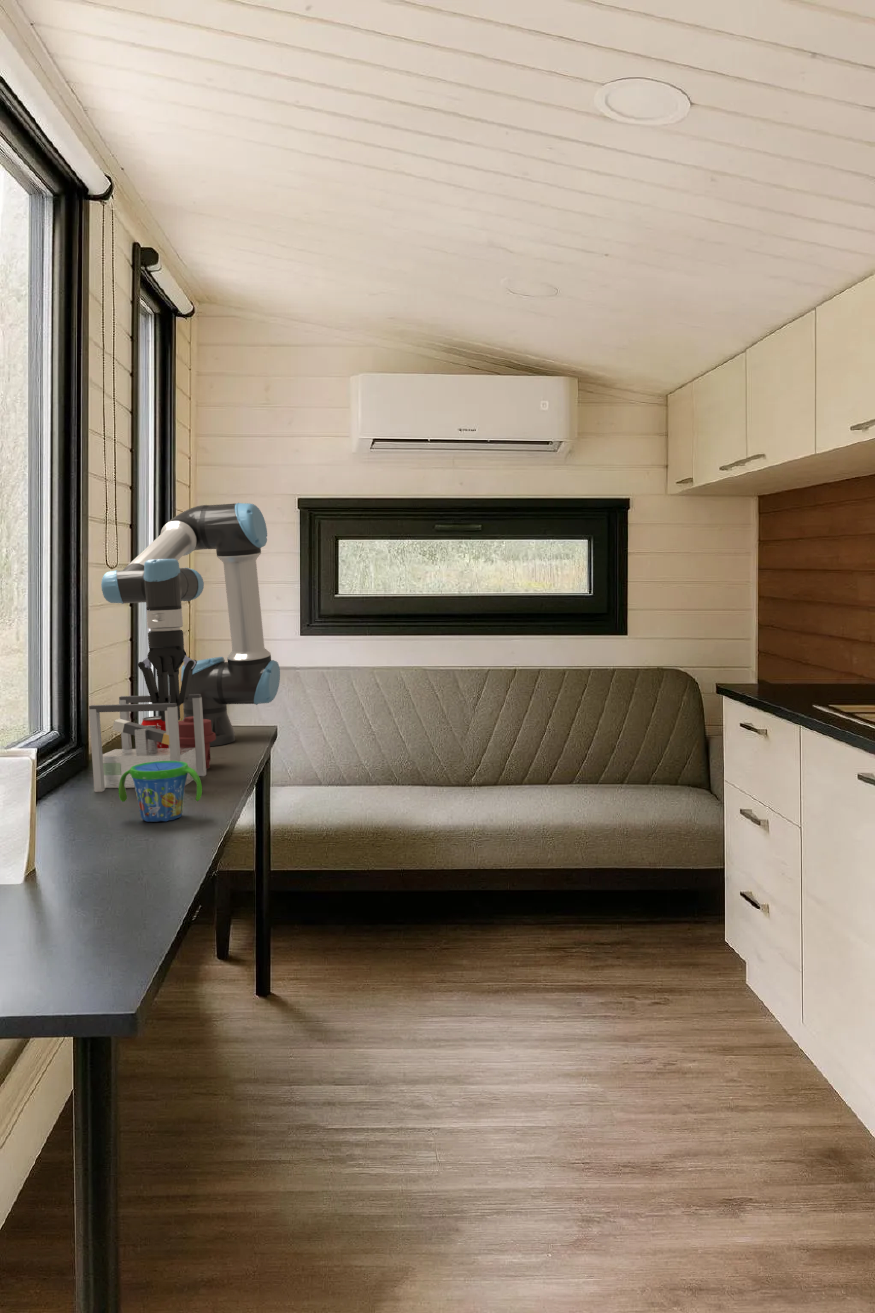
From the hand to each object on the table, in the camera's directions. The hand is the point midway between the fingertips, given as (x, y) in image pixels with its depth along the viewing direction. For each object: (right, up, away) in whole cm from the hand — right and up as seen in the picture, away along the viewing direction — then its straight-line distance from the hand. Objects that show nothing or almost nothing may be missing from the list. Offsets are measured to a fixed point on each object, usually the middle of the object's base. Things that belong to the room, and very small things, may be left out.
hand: (171, 735), depth 219 cm
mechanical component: (+1, -9, +17) cm, 19 cm away
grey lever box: (-6, -11, +2) cm, 12 cm away
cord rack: (-6, -11, +2) cm, 12 cm away
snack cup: (+7, -13, -32) cm, 35 cm away
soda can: (-9, -9, +21) cm, 25 cm away
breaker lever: (-6, 0, +1) cm, 6 cm away
